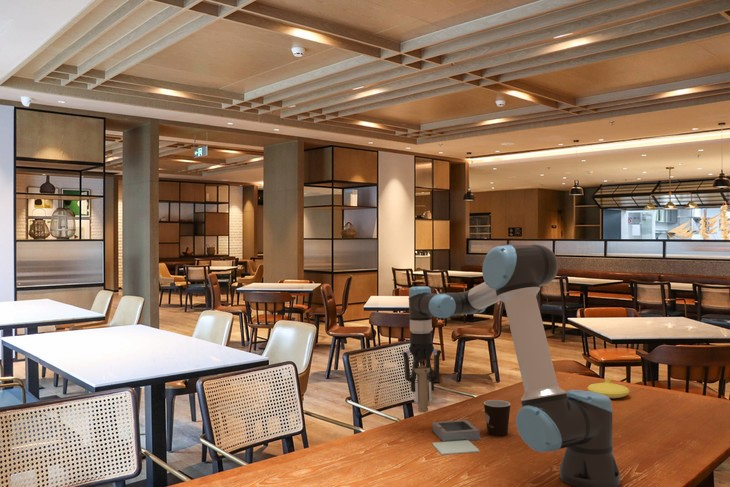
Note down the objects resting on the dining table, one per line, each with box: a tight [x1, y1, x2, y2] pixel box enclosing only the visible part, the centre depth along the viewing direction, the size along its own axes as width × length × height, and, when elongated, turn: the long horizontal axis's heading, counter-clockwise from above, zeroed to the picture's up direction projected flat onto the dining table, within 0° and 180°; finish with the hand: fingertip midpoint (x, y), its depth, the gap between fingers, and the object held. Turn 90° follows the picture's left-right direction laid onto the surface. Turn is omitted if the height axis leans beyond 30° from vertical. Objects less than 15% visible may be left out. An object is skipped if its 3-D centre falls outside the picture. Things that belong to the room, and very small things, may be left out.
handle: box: [413, 365, 430, 413], centre depth 210 cm, size 5×6×15 cm
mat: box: [431, 440, 481, 456], centre depth 190 cm, size 10×12×1 cm
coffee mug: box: [483, 399, 511, 438], centre depth 205 cm, size 12×9×10 cm
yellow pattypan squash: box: [587, 377, 630, 399], centre depth 249 cm, size 16×16×7 cm
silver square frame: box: [432, 419, 481, 442], centre depth 202 cm, size 12×12×3 cm
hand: (422, 400), depth 210 cm, fingers closed on handle, 4 cm apart
